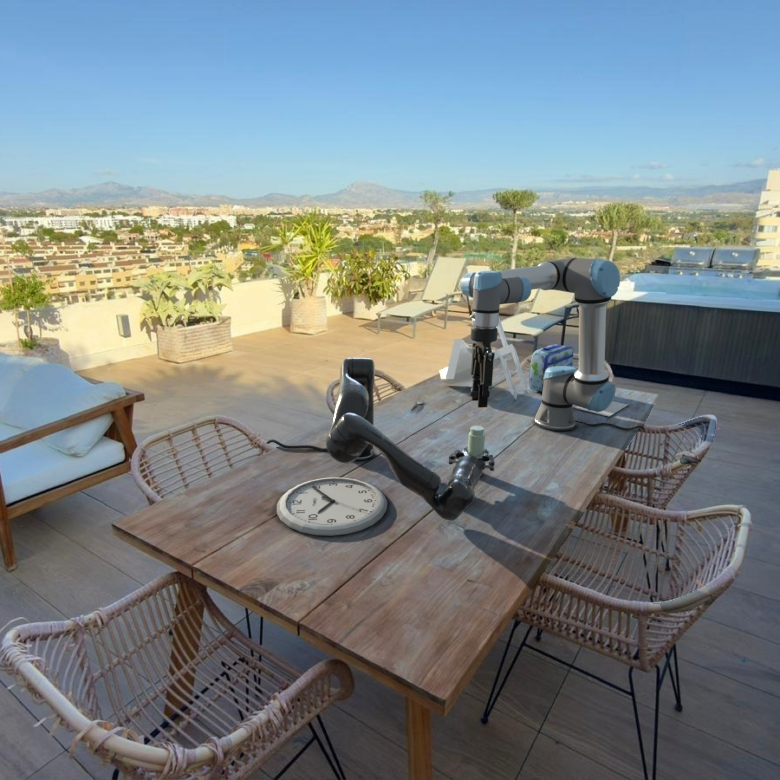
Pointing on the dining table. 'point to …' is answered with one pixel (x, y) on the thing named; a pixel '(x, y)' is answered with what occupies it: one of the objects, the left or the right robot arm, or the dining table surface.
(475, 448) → the jar
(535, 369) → the lunch box
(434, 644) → the dining table surface
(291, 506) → the wall clock
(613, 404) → the invitation card
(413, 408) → the fork
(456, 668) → the dining table surface
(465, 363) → the white plastic object
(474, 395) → the lid
